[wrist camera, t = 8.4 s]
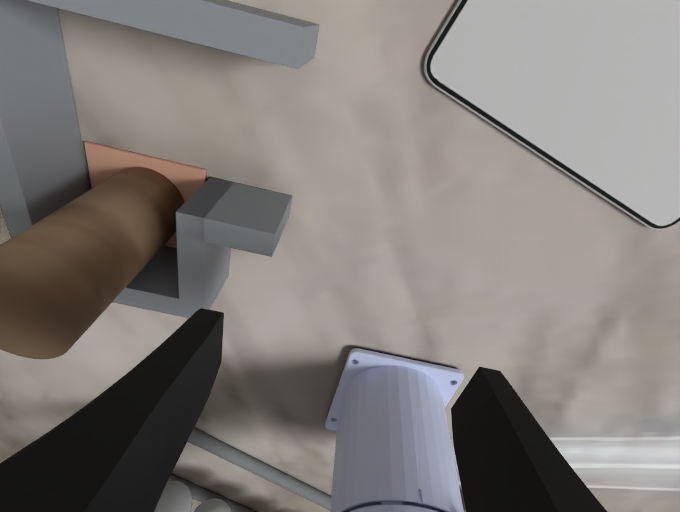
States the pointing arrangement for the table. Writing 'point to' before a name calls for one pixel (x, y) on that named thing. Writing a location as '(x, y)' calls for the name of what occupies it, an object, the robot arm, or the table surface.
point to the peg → (81, 260)
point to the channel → (104, 162)
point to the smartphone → (576, 89)
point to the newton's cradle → (215, 507)
